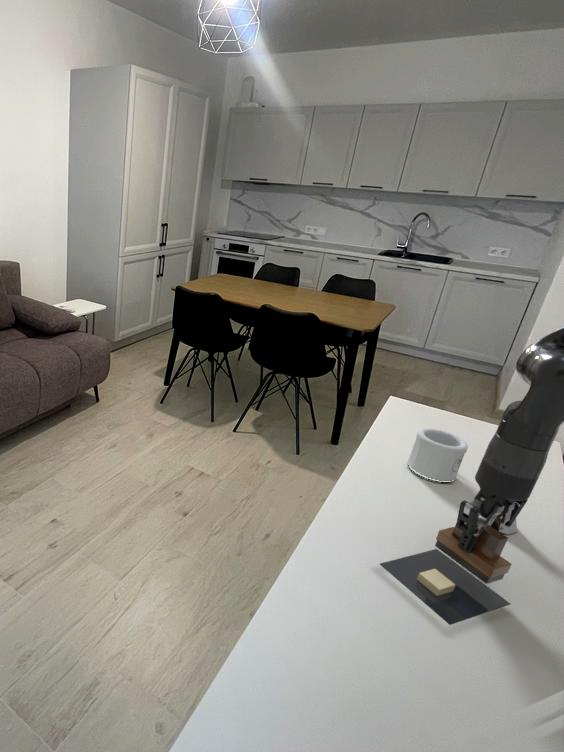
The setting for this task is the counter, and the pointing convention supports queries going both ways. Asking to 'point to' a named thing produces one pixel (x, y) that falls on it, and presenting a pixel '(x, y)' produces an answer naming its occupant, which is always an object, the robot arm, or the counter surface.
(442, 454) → the mug
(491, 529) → the brush
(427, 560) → the slate tile
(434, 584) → the felt pad
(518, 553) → the counter surface
